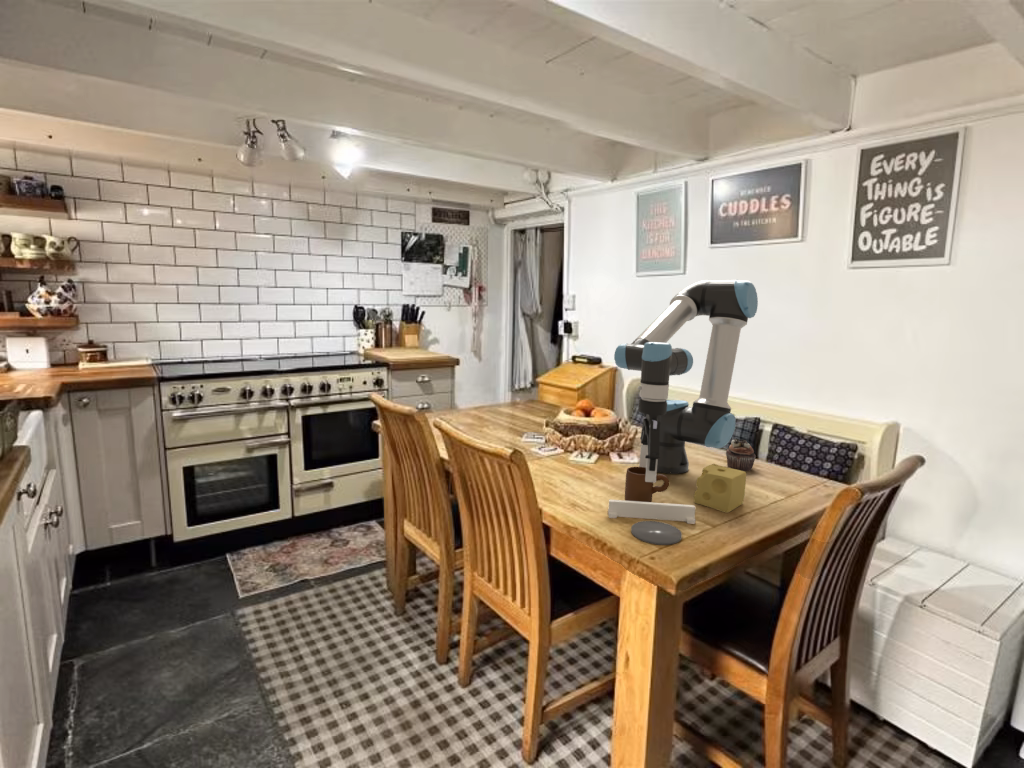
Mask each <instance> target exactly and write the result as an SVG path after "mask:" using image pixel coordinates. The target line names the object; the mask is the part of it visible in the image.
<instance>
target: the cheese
mask: <svg viewBox="0 0 1024 768" xmlns="http://www.w3.org/2000/svg"><path fill="white" fill-rule="evenodd" d="M746 476H747V471H741V470H736V469H732V468H729V467H728V466H727V467H726V466H722V465H719V464H715V463H712V464H709V465H707V466H705V467H704V468H702V471H701V474H700V476H698V477H697V479H696V484H695V485H696V490H695V491H694V494H693V503H695V504H697V505H701V506H703V507H704V506H705V507H707V508H711V509H714V510H717V511H720V512H723V513H726V514H728V513H730V512H731V511H733V510H735V509H736V508H738V507H740V506H742V505H743V504H744V499H745V491H746V481H747V477H746Z"/></svg>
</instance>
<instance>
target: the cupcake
mask: <svg viewBox="0 0 1024 768" xmlns="http://www.w3.org/2000/svg"><path fill="white" fill-rule="evenodd" d="M730 443H731V444H730V445H729V446H728V448H727V449H726V451H725V456H726V463H727V464H726V465H727V468H732V469H736V470H741V471H744V472H750V471H751V470H753V466H754V463H755V460H756V457H757V456H756V454H755V453H754V452H755V451H754V448H753V447H752V446H751V444H750V443H748V442H747V439H739V438H737V437H736V438H733V439H732V440H731V442H730Z"/></svg>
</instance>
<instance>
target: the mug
mask: <svg viewBox="0 0 1024 768" xmlns="http://www.w3.org/2000/svg"><path fill="white" fill-rule="evenodd" d="M645 476H646V468H645V467H639V466H630V467H628V468H626V473H625V487H624V500H625V501H640V502H653V495H654V494H656V493H661V492H662V493H663V492H665V491H667V490H668V489H669V487H670V479H669V478H668V477H667V476H666V475H664V474H661V473H660V474H657V475H656V482H657V481H663V484H662V485H654V482H645Z"/></svg>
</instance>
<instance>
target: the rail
mask: <svg viewBox="0 0 1024 768" xmlns="http://www.w3.org/2000/svg"><path fill="white" fill-rule="evenodd" d="M607 514H608V515H607V516H608V518H610V519H617V517H620V518H631V519H633V518H636V519H645V520H648V519H650V520H659V521H660V520H662V521H676V522H685V523H686V524H693V525H695V524H696V517H695V515H696V506H695V505H694V504H682V503H681V504H680V503H670V502H669V503H665V502H653V501H652V502H640V501H625V499H623V500H620V499H608V509H607Z"/></svg>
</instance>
